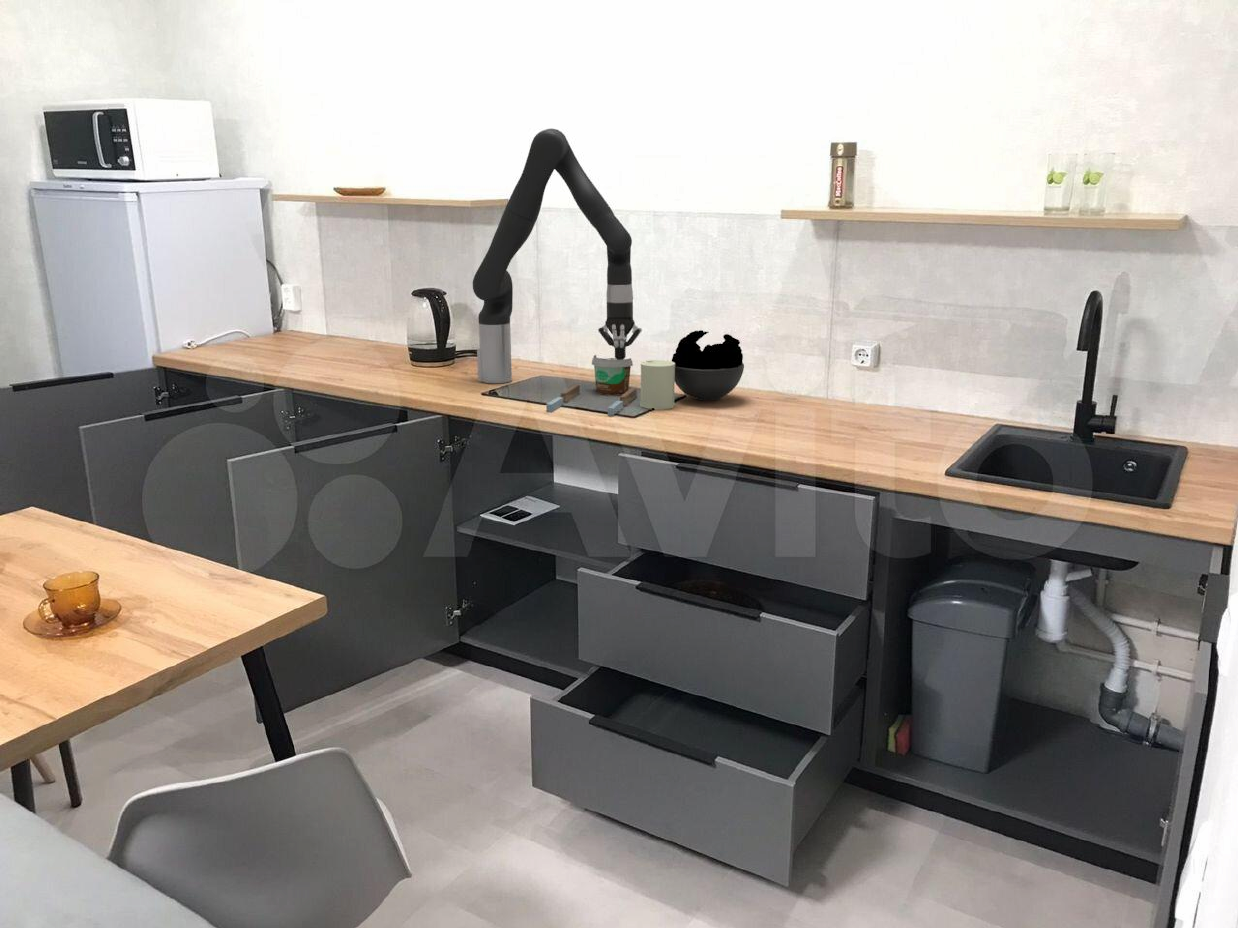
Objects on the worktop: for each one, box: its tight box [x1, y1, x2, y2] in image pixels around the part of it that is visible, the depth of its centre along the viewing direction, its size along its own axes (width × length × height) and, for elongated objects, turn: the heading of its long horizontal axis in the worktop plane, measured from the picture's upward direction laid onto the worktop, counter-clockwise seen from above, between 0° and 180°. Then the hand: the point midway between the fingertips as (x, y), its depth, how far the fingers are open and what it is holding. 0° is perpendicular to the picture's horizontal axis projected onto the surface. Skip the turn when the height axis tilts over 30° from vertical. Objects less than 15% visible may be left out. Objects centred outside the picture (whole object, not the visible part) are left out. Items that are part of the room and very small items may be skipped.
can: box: [639, 359, 676, 411], centre depth 260 cm, size 9×9×12 cm
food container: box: [591, 354, 633, 396], centre depth 276 cm, size 12×6×10 cm, turn 62°
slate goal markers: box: [545, 396, 624, 417], centre depth 257 cm, size 18×9×2 cm, turn 75°
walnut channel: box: [560, 384, 638, 407], centre depth 269 cm, size 18×12×2 cm, turn 75°
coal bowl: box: [671, 330, 745, 401], centre depth 267 cm, size 20×20×19 cm
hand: (620, 360), depth 286 cm, fingers closed
